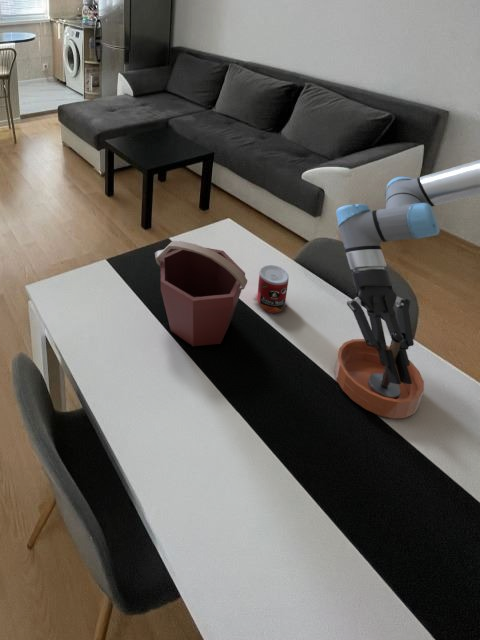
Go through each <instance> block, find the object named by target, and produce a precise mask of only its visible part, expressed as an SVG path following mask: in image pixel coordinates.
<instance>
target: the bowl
mask: <svg viewBox="0 0 480 640" xmlns="http://www.w3.org/2000/svg"><path fill="white" fill-rule="evenodd" d="M386 346H387V349H386V350H389V348H390V345H387V344H386ZM409 362H410V366H407V368H408V372H409V375H410V378H411V382H412V384H406V383H402V382H401V381H400V382H401V384H398V385H399V387H400V390H401V392H400V396H399V398H398V399H393V398H388V397H383V396H381V395H379V394H376V393H374V392H373V391H372V390H371V389H370V387H369V385H368V381H369V377H370V375H372V374H374V373H381V374H383V371H384V367H385V366H382V364H381V362H380V358H379V354H378V351H377V349H375V348H374V347H371V346H368V345H367V344H366V342H365V340H364V338H356V339H355V338H354V339H349V340H348V341H345V342H343V343H342V344H341V346H340V347H338V352H337V357H336V362H335V367H334V375H335V380H336V382H337V383H338V385H339V387H340V389H341V390H342V392H344V393H345V394H346V395H347V396H348V398H349V399H351V400H352V401H353V402H354V403H355V404H357V405H359V406H360V407H361V408H363V409H365V410H366V411H367V412H371V413H372V414H375V415H378V416H380V417H383V418H389V419H407V418H408V417H410V416H412V415H414V414H415V413H416V412H417V410H418V408H419V407H420V403H421V400H422V398H423V394H424V391H425V383H424V382H425V381H424V379H423V377H422V374H421V372H420V370H419V369H418V368H417V367H416V366H415V365H414V363H413V362H412V360H410V359H409ZM395 365H396V364H395ZM396 368H397V367H396ZM397 372H398V371H397ZM398 375H399V374H398ZM399 379H400V378H399Z"/></svg>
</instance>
